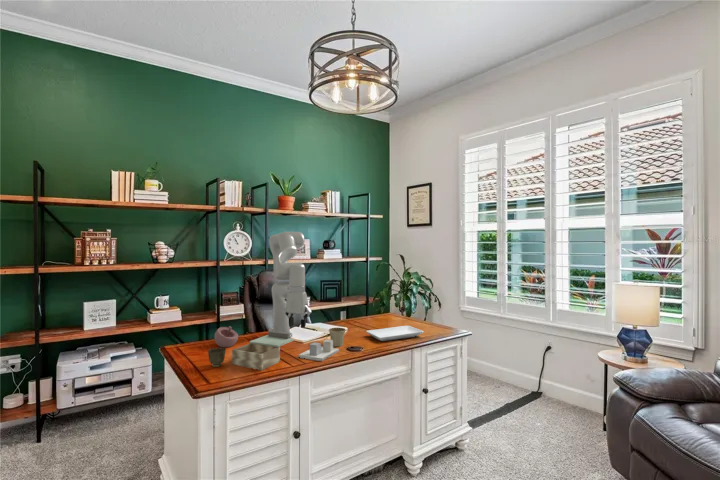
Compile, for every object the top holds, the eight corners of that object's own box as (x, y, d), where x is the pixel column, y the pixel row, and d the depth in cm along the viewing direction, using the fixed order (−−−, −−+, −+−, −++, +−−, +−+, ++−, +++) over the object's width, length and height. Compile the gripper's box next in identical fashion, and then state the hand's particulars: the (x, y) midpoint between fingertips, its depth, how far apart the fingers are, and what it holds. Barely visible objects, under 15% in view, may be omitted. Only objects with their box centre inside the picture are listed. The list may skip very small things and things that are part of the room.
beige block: (323, 351, 187) (323, 341, 187) (325, 349, 191) (325, 339, 191) (330, 352, 186) (330, 342, 186) (333, 349, 190) (333, 340, 190)
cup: (211, 364, 170) (211, 347, 170) (227, 364, 171) (227, 346, 171) (205, 370, 163) (205, 352, 163) (222, 369, 163) (222, 351, 163)
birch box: (232, 365, 169) (232, 349, 169) (251, 357, 181) (251, 342, 181) (261, 370, 162) (261, 354, 162) (279, 361, 174) (279, 346, 174)
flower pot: (343, 348, 196) (343, 332, 196) (326, 347, 198) (326, 331, 198) (347, 343, 205) (347, 327, 205) (331, 342, 207) (331, 327, 207)
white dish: (298, 357, 180) (298, 354, 180) (317, 348, 196) (317, 345, 196) (321, 361, 175) (321, 358, 175) (338, 351, 190) (338, 348, 190)
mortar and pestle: (230, 351, 191) (231, 329, 191) (209, 350, 193) (209, 328, 193) (242, 344, 202) (242, 323, 202) (222, 343, 205) (222, 323, 205)
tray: (424, 336, 221) (424, 330, 221) (379, 343, 206) (379, 337, 206) (408, 330, 236) (408, 325, 236) (365, 336, 221) (365, 330, 221)
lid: (249, 343, 180) (249, 336, 180) (266, 336, 191) (266, 330, 191) (277, 347, 173) (277, 340, 173) (294, 340, 184) (294, 333, 184)
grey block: (309, 354, 182) (309, 344, 182) (314, 352, 185) (313, 342, 185) (316, 355, 180) (316, 345, 180) (320, 353, 184) (320, 343, 184)
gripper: (277, 289, 179) (277, 326, 179) (308, 291, 172) (308, 330, 172) (286, 287, 186) (286, 323, 186) (316, 289, 179) (316, 326, 179)
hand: (297, 326), depth 179 cm, fingers open, 6 cm apart
